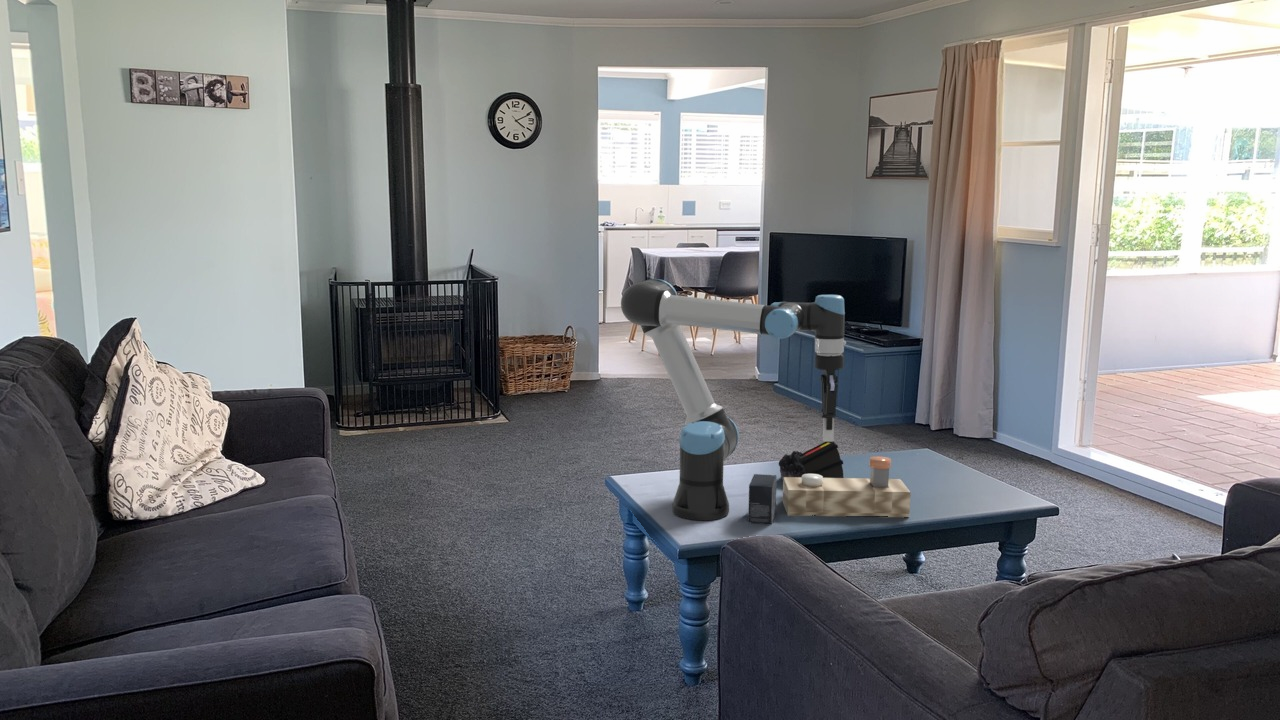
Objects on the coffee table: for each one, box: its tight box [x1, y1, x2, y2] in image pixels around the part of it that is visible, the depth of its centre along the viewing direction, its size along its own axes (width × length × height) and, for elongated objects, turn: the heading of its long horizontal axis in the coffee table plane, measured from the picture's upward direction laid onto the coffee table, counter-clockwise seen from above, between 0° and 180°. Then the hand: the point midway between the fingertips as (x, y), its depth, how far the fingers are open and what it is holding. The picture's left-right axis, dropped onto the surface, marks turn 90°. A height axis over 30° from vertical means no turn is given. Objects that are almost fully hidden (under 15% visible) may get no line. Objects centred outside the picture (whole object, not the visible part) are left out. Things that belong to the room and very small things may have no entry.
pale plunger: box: [801, 474, 823, 487], centre depth 262 cm, size 6×6×8 cm
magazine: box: [798, 440, 845, 478], centre depth 278 cm, size 4×13×15 cm, turn 99°
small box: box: [748, 473, 777, 526], centre depth 255 cm, size 11×6×10 cm, turn 166°
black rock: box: [778, 450, 804, 481], centre depth 289 cm, size 13×14×10 cm
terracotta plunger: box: [868, 455, 892, 488], centre depth 261 cm, size 6×6×8 cm
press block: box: [782, 477, 912, 518], centre depth 262 cm, size 32×12×7 cm, turn 88°
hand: (828, 440), depth 259 cm, fingers closed
